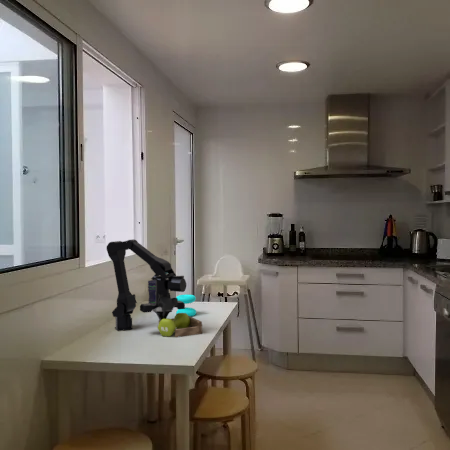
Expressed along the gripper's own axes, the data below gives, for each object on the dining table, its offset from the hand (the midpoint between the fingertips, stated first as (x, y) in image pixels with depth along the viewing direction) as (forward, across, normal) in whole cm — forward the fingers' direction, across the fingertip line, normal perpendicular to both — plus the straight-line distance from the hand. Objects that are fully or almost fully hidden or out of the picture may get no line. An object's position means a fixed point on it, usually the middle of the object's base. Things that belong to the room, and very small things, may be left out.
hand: (162, 326), depth 216 cm
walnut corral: (+2, +8, -1) cm, 8 cm away
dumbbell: (+3, +4, -4) cm, 6 cm away
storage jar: (+4, +16, +54) cm, 57 cm away
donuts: (+3, +22, +27) cm, 35 cm away
